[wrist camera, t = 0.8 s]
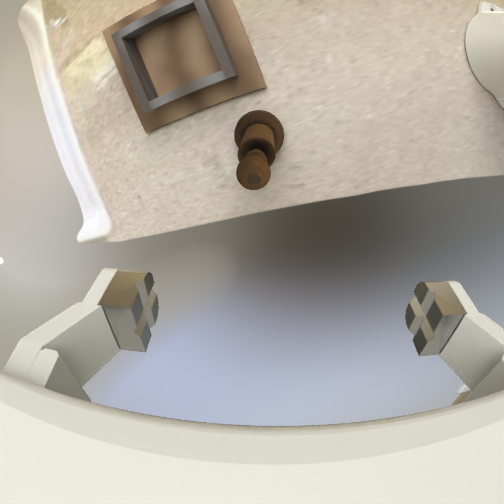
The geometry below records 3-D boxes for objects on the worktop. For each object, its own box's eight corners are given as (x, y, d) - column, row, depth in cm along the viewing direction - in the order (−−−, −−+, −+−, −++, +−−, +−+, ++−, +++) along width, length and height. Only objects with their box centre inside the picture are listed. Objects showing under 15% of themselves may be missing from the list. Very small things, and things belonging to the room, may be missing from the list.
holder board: (220, -24, 26) (214, -35, 22) (266, 86, 36) (265, 89, 32) (105, 31, 31) (87, 30, 26) (148, 131, 40) (135, 140, 36)
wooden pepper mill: (291, 123, 39) (306, 164, 24) (270, 161, 42) (270, 224, 27) (247, 102, 37) (232, 129, 23) (228, 142, 41) (202, 194, 26)
